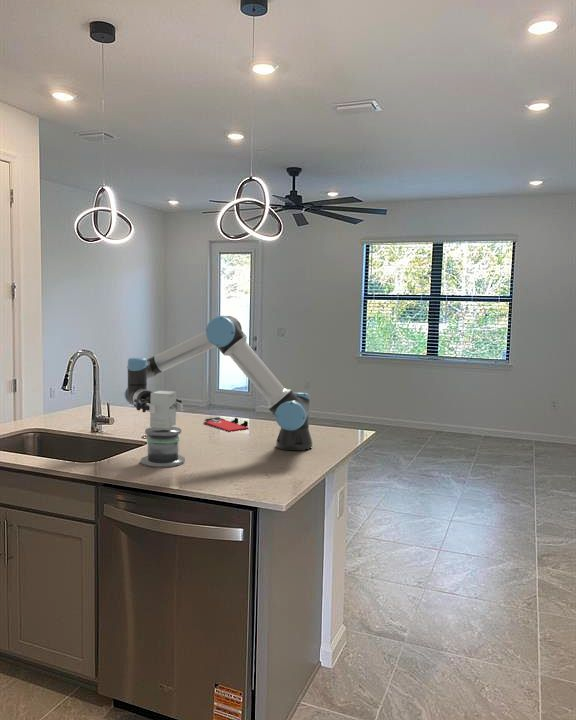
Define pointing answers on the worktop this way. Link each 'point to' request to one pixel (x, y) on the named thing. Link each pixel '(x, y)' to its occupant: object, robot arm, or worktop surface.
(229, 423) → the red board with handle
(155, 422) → the supplement box
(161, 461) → the grey round canister
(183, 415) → the worktop surface
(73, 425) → the worktop surface
